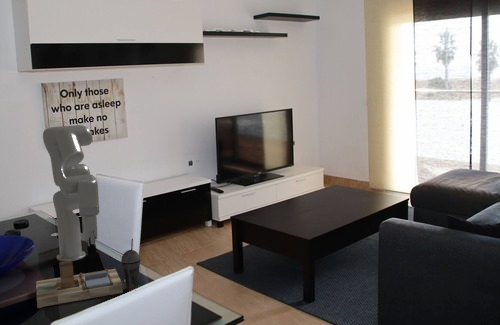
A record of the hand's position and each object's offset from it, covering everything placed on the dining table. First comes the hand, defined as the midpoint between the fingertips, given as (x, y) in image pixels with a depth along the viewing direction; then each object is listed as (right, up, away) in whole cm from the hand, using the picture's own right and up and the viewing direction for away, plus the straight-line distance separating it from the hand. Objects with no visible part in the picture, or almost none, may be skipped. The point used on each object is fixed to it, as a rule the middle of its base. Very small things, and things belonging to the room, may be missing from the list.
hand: (92, 254), depth 206 cm
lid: (+5, -9, -9) cm, 14 cm away
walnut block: (-6, -11, -10) cm, 16 cm away
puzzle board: (-2, -13, -8) cm, 15 cm away
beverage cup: (+18, -12, -7) cm, 23 cm away
